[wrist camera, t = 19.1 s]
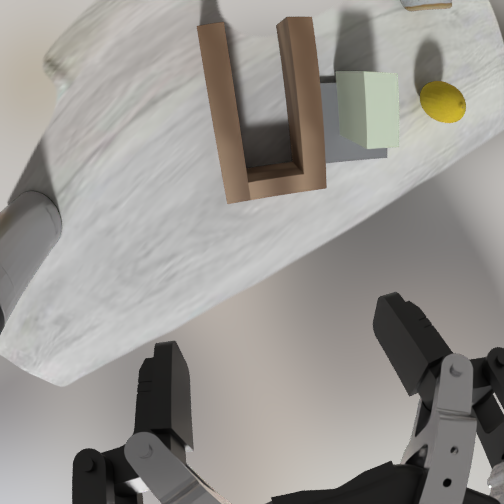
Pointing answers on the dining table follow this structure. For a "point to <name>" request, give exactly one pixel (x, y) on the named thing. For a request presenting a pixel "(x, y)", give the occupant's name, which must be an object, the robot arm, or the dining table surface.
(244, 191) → the rail
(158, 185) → the dining table surface
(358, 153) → the slate coaster
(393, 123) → the sage block
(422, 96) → the lemon
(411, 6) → the ceramic mug
